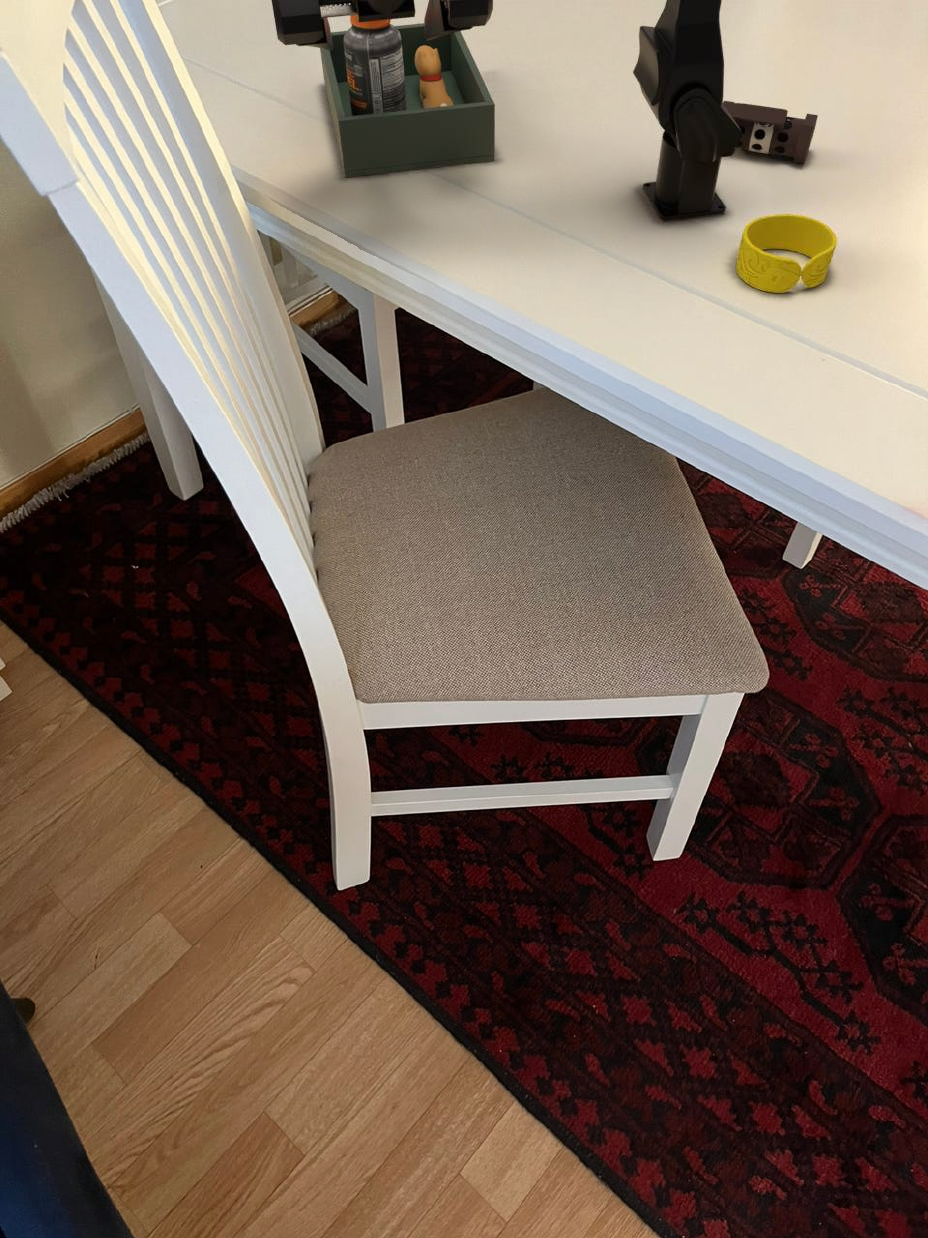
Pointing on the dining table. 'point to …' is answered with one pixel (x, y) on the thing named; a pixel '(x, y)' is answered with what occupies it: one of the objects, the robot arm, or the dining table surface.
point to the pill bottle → (374, 67)
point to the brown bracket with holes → (772, 130)
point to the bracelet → (786, 235)
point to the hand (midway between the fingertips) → (378, 39)
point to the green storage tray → (414, 112)
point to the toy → (431, 78)
